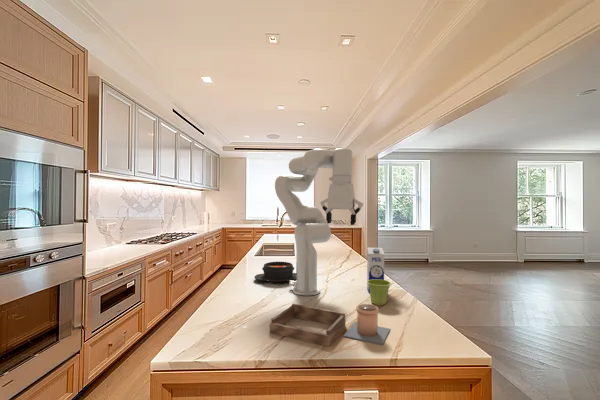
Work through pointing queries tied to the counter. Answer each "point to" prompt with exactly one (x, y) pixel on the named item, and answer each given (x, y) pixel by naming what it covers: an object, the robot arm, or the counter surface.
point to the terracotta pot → (367, 319)
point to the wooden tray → (310, 314)
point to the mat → (375, 339)
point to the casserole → (277, 272)
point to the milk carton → (375, 264)
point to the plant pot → (378, 291)
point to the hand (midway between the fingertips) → (340, 223)
